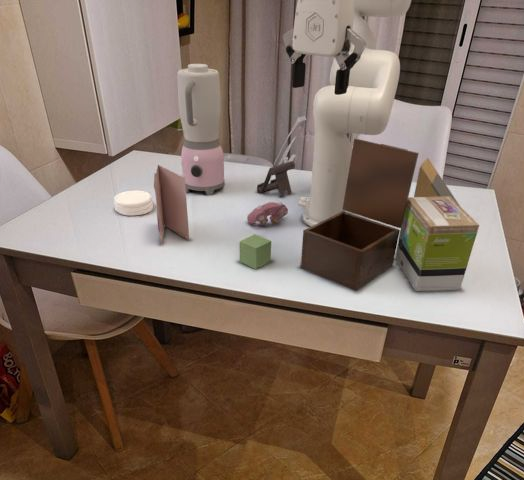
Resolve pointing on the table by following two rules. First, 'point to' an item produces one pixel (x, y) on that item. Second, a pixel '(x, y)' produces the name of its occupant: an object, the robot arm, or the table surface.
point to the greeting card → (171, 202)
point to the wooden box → (349, 249)
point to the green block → (255, 251)
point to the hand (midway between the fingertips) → (318, 90)
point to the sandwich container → (431, 182)
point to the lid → (379, 181)
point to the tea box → (435, 243)
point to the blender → (201, 128)
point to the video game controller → (267, 213)
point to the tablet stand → (277, 179)
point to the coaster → (133, 203)
